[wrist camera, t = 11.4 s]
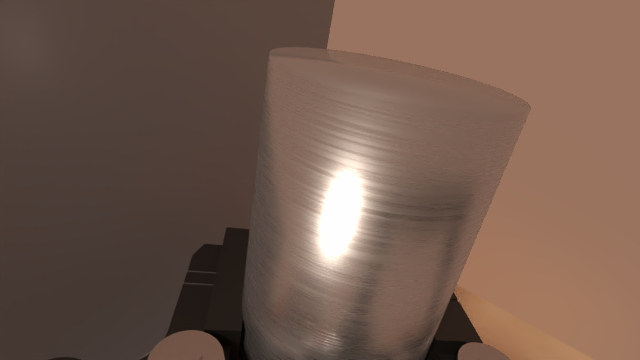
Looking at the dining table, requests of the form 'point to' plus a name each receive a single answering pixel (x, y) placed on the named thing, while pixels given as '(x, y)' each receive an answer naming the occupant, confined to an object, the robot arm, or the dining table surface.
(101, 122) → the grey l-shaped stand
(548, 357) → the dining table surface
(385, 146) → the rod
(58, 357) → the robot arm
